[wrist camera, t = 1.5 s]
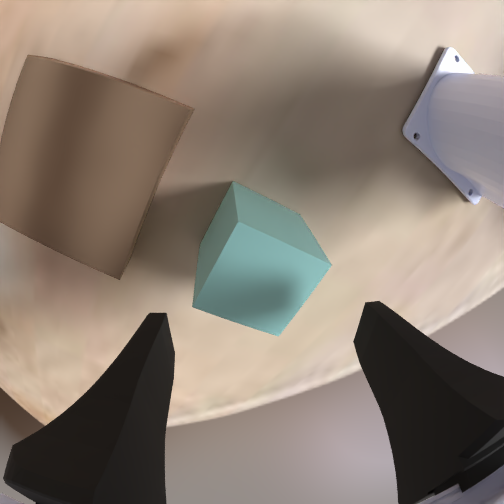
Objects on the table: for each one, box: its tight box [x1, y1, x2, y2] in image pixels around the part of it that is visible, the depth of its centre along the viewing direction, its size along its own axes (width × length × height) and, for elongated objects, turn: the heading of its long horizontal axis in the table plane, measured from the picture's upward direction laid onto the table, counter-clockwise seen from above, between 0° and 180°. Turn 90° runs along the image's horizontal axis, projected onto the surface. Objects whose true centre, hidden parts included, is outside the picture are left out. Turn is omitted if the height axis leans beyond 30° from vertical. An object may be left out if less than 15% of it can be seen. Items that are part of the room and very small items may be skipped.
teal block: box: [192, 181, 332, 336], centre depth 15 cm, size 4×4×6 cm
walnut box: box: [0, 55, 194, 280], centre depth 14 cm, size 10×10×3 cm
